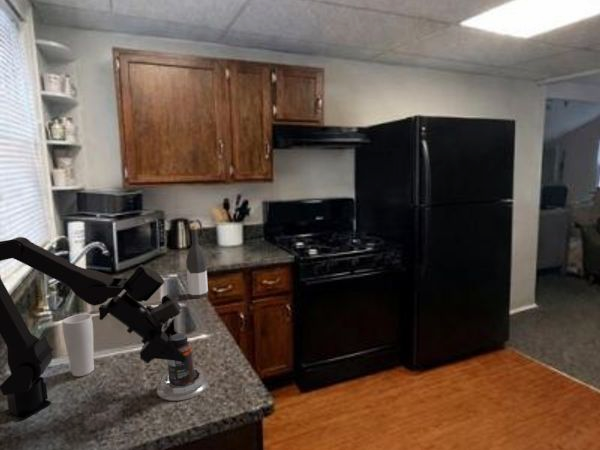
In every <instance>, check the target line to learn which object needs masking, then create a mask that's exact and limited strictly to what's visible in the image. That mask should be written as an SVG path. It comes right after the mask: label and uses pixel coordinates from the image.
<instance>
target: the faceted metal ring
mask: <svg viewBox="0 0 600 450" xmlns="http://www.w3.org/2000/svg"><path fill="white" fill-rule="evenodd" d="M208 386H209V379H208V377H207V376H206V375H205V374H204V372H203V371H202V370H201V369H200V368H198V367H194V379H193V380H192V381H191V382H190V383H188V384H185V385H181V386H175V385H172V384H170V382H169V375H168V372H167V373H166V374H165V375H163V376H162V378H161V381H160V383H159V384H158V386H157V388H156V394H157V396H158V397H159V398H160V399H162V400H164V401H167V402H182V401H186V400H190V399H192V398H195V397H197V396H199V395H200V394H202V393H204V392H205V390H206V389H207V388H208Z"/></svg>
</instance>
